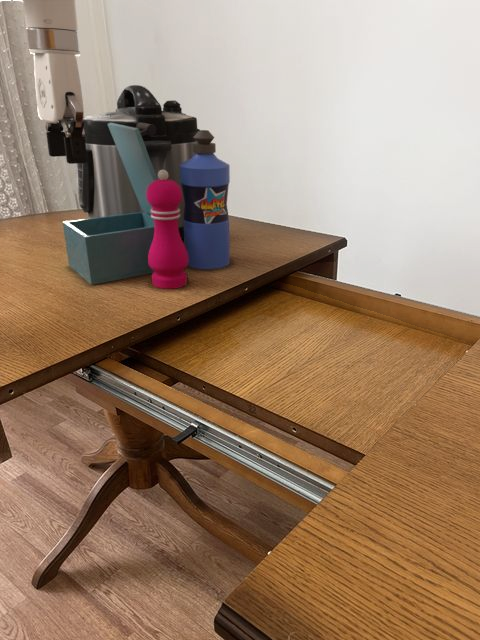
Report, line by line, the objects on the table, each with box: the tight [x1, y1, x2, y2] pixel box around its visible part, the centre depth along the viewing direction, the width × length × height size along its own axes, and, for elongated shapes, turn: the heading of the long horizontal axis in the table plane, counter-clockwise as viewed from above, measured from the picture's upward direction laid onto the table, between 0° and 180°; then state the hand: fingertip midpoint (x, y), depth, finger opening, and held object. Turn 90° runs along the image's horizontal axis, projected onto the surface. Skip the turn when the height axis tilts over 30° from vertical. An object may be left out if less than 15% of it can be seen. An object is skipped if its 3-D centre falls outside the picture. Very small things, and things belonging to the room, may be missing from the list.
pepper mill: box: [146, 170, 189, 290], centre depth 95 cm, size 7×7×20 cm
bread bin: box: [62, 212, 155, 286], centre depth 105 cm, size 17×13×9 cm
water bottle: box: [180, 129, 231, 270], centre depth 105 cm, size 9×9×25 cm
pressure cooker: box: [75, 84, 201, 239], centre depth 124 cm, size 30×28×32 cm
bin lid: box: [108, 122, 158, 214], centre depth 103 cm, size 17×13×5 cm
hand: (67, 159), depth 92 cm, fingers open, 9 cm apart
